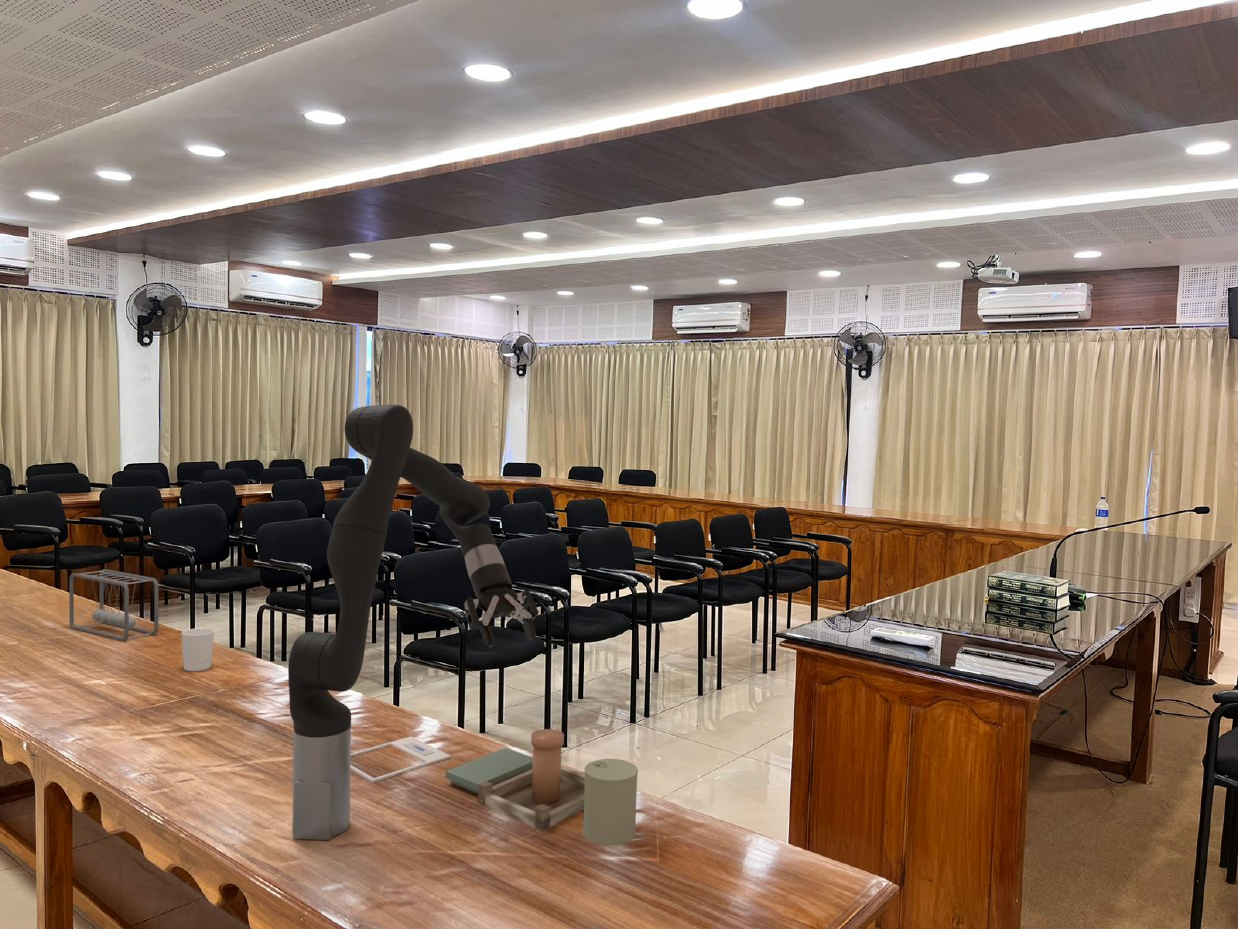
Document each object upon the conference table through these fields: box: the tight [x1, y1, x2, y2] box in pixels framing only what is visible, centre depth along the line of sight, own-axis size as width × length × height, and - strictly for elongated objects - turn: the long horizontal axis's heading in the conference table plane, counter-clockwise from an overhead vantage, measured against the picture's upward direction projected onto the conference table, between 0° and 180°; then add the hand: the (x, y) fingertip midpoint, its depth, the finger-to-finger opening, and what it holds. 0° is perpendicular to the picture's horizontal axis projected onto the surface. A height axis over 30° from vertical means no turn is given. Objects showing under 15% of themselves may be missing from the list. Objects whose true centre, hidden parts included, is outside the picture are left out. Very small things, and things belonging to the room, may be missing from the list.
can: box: [582, 758, 639, 846], centre depth 147 cm, size 9×9×12 cm
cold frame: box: [477, 765, 585, 832], centre depth 159 cm, size 16×19×4 cm
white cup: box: [181, 627, 215, 672], centre depth 234 cm, size 8×8×10 cm
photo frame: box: [350, 735, 451, 784], centre depth 176 cm, size 15×1×18 cm
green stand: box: [445, 747, 533, 795], centre depth 168 cm, size 9×16×3 cm, turn 142°
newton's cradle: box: [68, 568, 160, 642], centre depth 268 cm, size 30×10×18 cm, turn 61°
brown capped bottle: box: [530, 728, 565, 805], centre depth 159 cm, size 6×6×12 cm
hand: (512, 642), depth 168 cm, fingers open, 8 cm apart
